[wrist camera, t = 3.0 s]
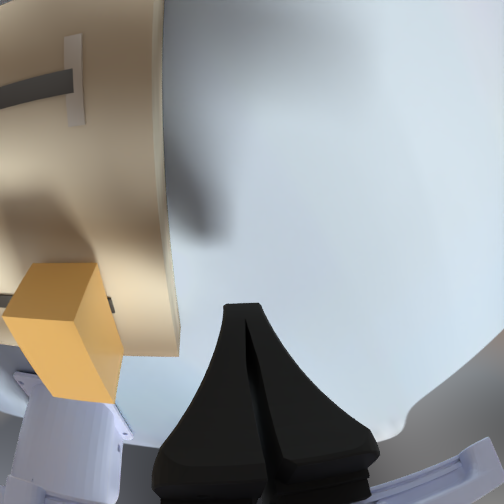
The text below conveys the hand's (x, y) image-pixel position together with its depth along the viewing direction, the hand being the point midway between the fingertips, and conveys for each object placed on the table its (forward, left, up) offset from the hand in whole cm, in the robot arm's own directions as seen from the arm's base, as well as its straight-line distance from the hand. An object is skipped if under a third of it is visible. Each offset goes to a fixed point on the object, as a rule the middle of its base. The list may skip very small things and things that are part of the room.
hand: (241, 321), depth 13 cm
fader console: (+5, +16, -3) cm, 17 cm away
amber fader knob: (0, +7, -1) cm, 7 cm away
